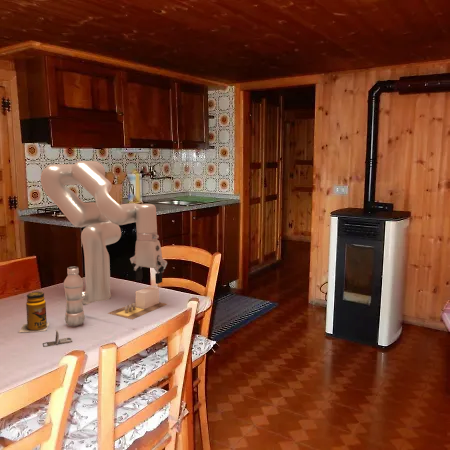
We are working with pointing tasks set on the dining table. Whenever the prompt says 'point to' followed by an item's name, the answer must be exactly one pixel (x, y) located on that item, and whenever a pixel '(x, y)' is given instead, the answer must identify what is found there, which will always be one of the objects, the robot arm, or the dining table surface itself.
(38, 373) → the dining table surface
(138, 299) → the block
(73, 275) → the plastic bottle
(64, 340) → the strap clip
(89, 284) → the robot arm
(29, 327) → the condiment
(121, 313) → the board
